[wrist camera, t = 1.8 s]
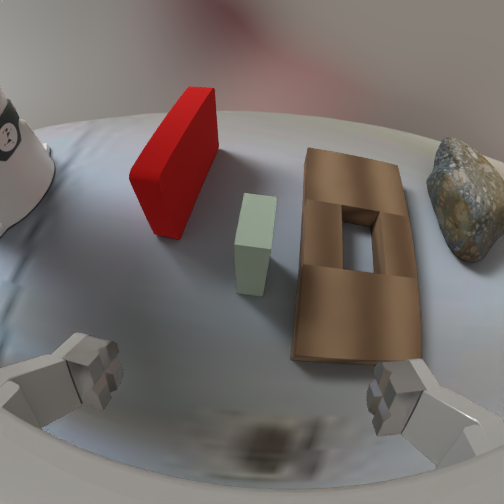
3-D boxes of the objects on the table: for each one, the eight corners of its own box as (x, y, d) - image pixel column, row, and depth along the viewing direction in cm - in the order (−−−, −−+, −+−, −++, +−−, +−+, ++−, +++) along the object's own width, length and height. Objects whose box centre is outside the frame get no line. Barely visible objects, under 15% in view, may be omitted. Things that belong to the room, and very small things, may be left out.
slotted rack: (290, 359, 25) (295, 354, 23) (304, 164, 37) (307, 147, 34) (406, 365, 25) (421, 360, 22) (389, 180, 36) (397, 165, 33)
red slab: (198, 145, 38) (190, 84, 29) (218, 148, 38) (214, 85, 29) (155, 236, 31) (126, 175, 22) (179, 242, 31) (157, 179, 22)
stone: (437, 265, 30) (475, 230, 23) (403, 155, 39) (423, 116, 32) (504, 268, 30) (538, 241, 23) (467, 170, 39) (489, 139, 32)
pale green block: (236, 293, 28) (234, 244, 20) (243, 252, 30) (244, 192, 22) (262, 296, 28) (271, 249, 20) (267, 255, 30) (277, 196, 22)
